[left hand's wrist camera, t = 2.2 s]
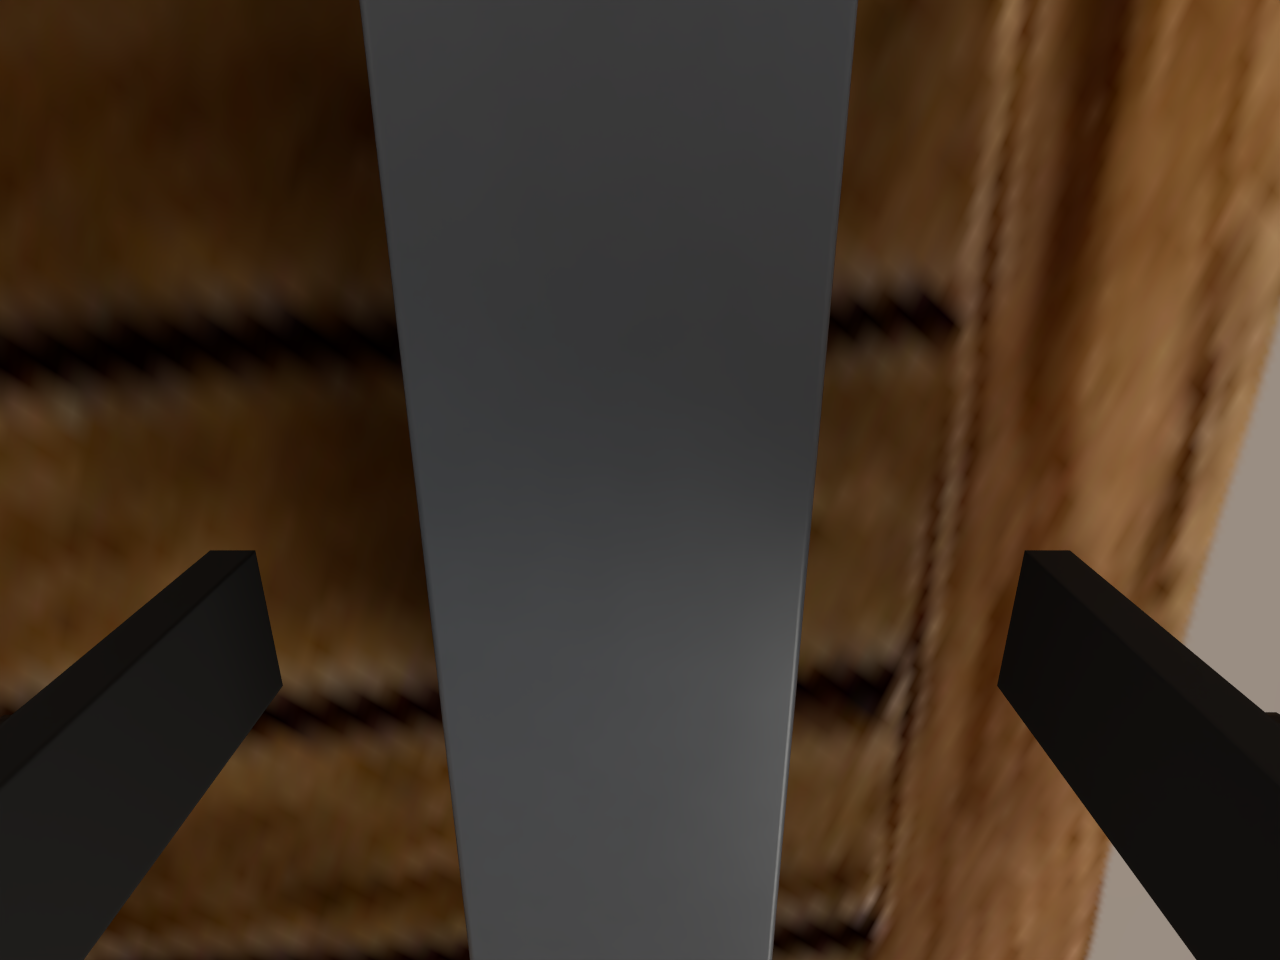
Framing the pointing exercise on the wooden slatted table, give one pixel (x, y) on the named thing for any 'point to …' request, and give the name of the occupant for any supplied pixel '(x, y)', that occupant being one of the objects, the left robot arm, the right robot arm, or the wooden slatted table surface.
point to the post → (614, 440)
